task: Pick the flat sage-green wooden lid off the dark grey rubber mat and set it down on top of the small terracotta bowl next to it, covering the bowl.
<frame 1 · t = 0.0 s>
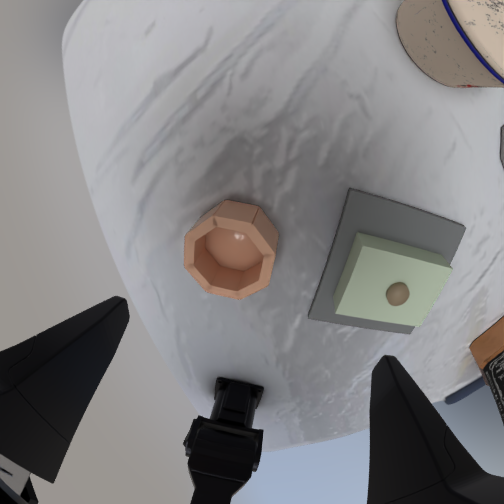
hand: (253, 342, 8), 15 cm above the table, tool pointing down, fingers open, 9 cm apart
lid: (389, 276, 22), point 1 cm above the table, touching mat
whiskey bottle: (500, 336, 24), on the table
teacup with lid: (446, 32, 11), on the table
bowl: (236, 239, 23), on the table
mat: (388, 272, 23), on the table
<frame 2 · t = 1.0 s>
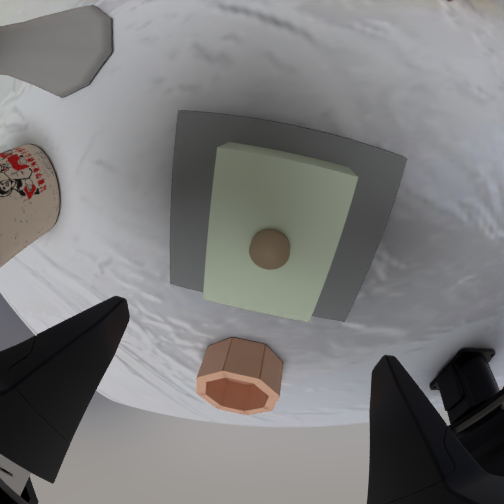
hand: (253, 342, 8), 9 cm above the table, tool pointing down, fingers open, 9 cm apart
lid: (274, 227, 16), point 1 cm above the table, touching mat
teacup with lid: (27, 180, 18), on the table
bowl: (243, 364, 23), on the table
flask: (79, 50, 12), on the table
mat: (275, 223, 16), on the table
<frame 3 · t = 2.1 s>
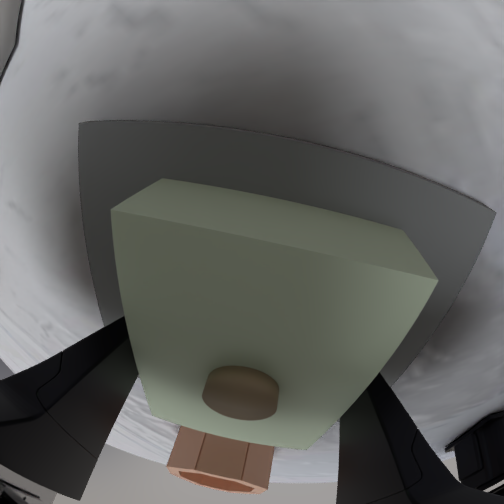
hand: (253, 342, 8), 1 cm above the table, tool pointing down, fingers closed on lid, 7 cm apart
lid: (255, 328, 9), point 1 cm above the table, touching gripper, mat
bowl: (225, 443, 16), on the table
mat: (258, 316, 9), on the table
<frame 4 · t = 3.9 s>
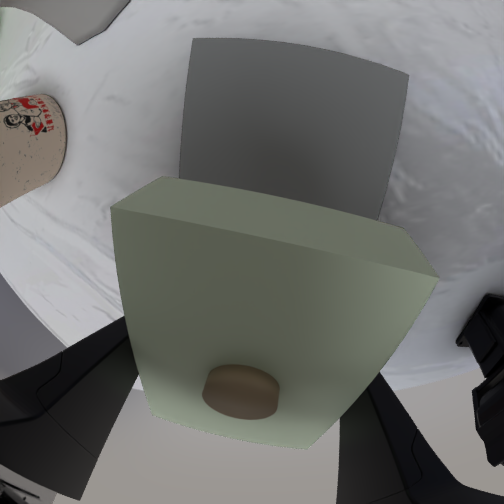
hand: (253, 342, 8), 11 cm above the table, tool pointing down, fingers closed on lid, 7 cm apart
lid: (256, 327, 9), point 10 cm above the table, touching gripper
teacup with lid: (33, 133, 17), on the table
flask: (96, 5, 11), on the table
mat: (288, 139, 15), on the table
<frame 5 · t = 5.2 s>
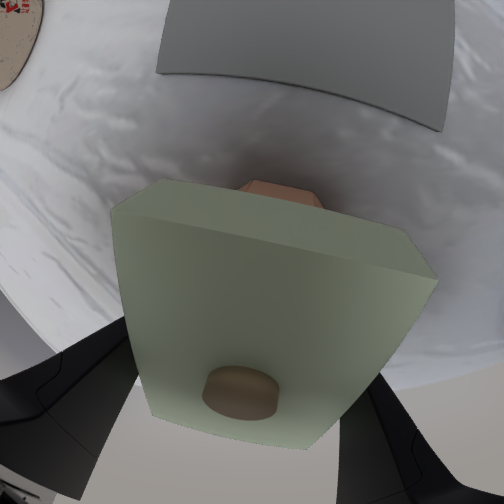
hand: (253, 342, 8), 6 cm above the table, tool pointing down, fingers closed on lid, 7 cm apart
lid: (255, 328, 9), point 6 cm above the table, touching gripper
teacup with lid: (8, 38, 8), on the table
bowl: (269, 250, 14), on the table
when the fingers open (5 cm above the table, at t = 5.9 s): lid drops 1 cm, resting on bowl.
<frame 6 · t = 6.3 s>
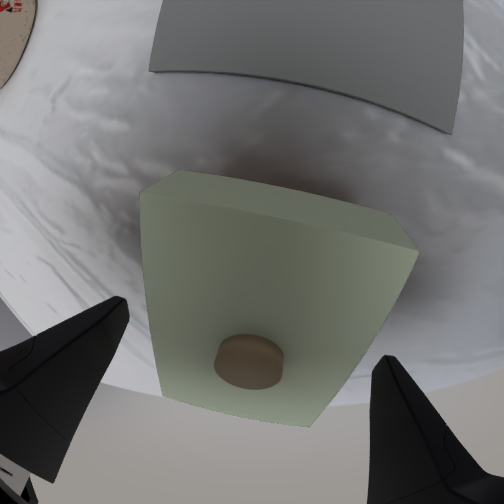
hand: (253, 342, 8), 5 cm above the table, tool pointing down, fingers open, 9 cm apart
lid: (261, 306, 10), point 4 cm above the table, touching bowl
teacup with lid: (2, 38, 8), on the table
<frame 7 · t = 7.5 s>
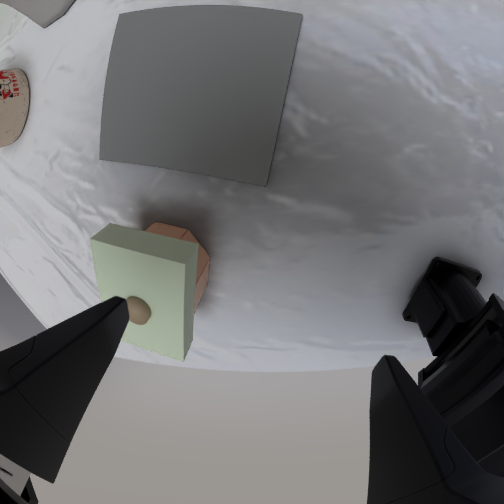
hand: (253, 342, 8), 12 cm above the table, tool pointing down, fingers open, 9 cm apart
lid: (152, 287, 19), point 4 cm above the table, touching bowl
teacup with lid: (7, 102, 16), on the table
bowl: (170, 262, 22), on the table
mat: (186, 84, 15), on the table
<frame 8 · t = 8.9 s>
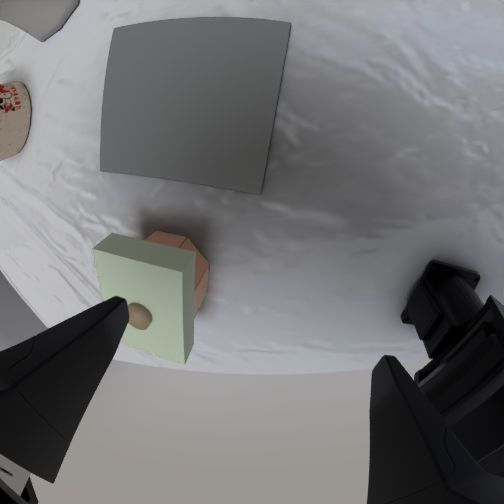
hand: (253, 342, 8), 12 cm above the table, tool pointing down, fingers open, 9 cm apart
lid: (153, 293, 20), point 4 cm above the table, touching bowl
teacup with lid: (9, 114, 17), on the table
bowl: (171, 268, 23), on the table
flask: (58, 9, 11), on the table
mat: (181, 96, 16), on the table
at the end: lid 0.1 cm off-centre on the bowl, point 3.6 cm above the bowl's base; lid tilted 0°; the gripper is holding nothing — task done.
